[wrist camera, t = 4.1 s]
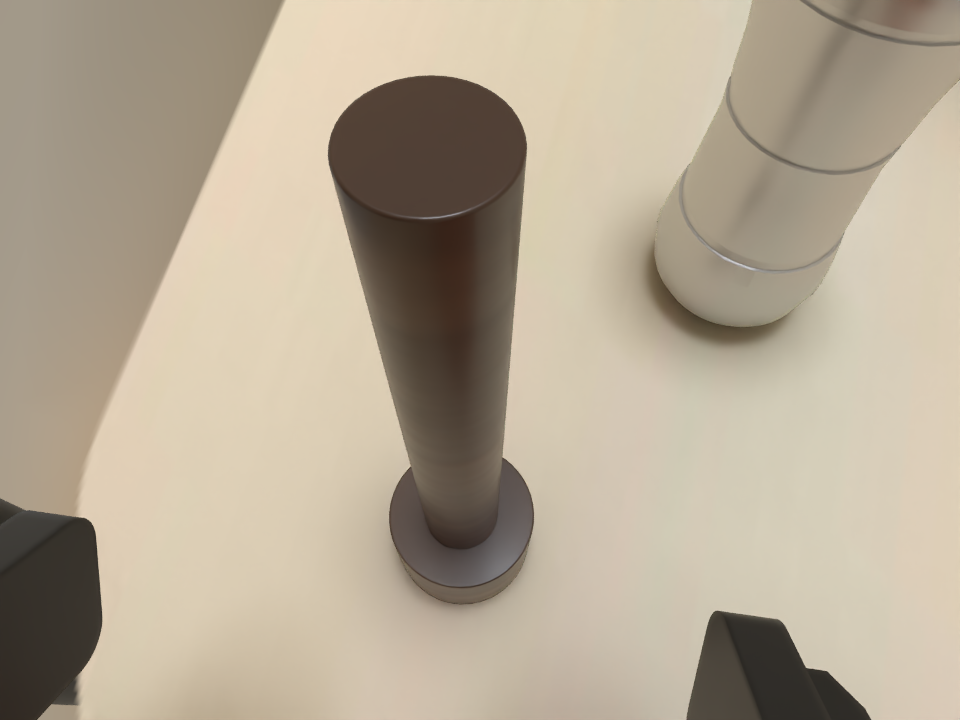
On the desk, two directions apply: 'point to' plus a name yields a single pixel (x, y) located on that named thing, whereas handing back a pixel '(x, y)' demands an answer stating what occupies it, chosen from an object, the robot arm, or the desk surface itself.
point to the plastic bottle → (799, 148)
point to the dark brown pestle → (442, 315)
